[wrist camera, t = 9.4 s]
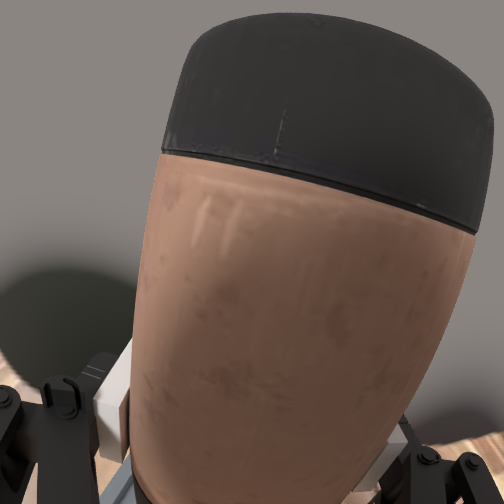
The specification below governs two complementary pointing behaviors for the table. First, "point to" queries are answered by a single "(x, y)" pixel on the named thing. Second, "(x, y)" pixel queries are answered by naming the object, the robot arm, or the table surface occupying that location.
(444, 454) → the table surface
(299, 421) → the travel mug
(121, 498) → the slate tray
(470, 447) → the table surface
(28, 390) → the table surface
